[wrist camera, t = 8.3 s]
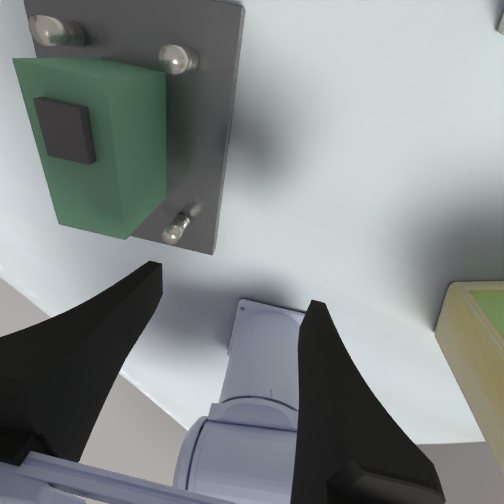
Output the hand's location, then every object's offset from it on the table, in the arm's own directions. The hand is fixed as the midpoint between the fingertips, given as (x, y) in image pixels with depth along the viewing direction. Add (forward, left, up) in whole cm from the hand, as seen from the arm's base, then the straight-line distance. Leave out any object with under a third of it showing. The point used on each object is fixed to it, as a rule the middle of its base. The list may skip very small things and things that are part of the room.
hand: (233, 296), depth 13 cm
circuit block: (+3, +9, -9) cm, 13 cm away
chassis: (+3, +9, -10) cm, 14 cm away
